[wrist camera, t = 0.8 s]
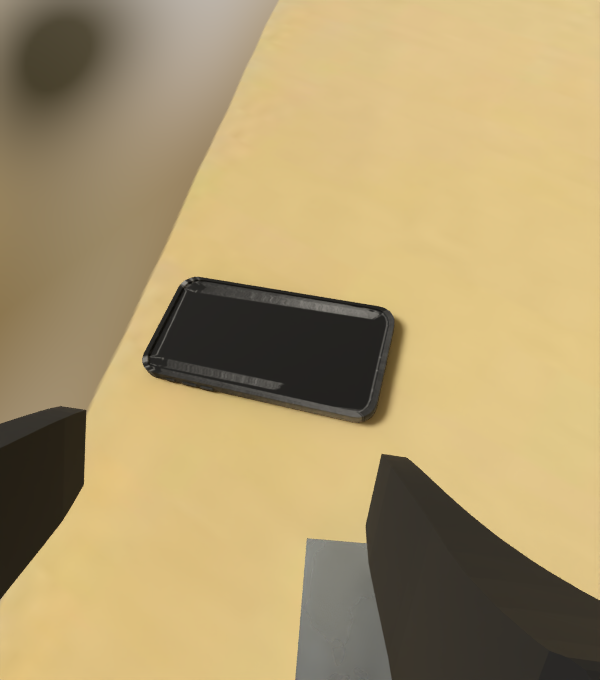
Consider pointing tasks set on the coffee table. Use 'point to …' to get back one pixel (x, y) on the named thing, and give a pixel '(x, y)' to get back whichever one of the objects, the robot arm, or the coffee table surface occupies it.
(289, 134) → the coffee table surface
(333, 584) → the plate block
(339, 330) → the phone
